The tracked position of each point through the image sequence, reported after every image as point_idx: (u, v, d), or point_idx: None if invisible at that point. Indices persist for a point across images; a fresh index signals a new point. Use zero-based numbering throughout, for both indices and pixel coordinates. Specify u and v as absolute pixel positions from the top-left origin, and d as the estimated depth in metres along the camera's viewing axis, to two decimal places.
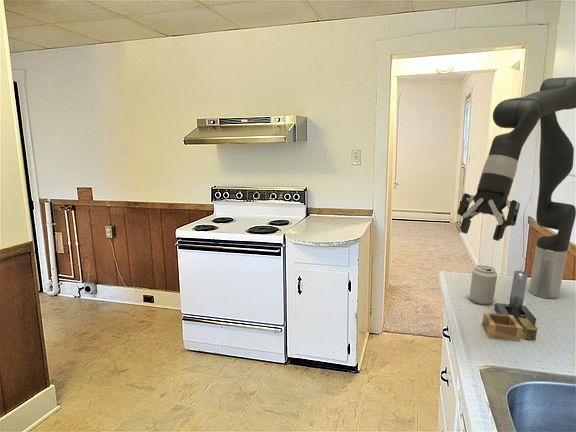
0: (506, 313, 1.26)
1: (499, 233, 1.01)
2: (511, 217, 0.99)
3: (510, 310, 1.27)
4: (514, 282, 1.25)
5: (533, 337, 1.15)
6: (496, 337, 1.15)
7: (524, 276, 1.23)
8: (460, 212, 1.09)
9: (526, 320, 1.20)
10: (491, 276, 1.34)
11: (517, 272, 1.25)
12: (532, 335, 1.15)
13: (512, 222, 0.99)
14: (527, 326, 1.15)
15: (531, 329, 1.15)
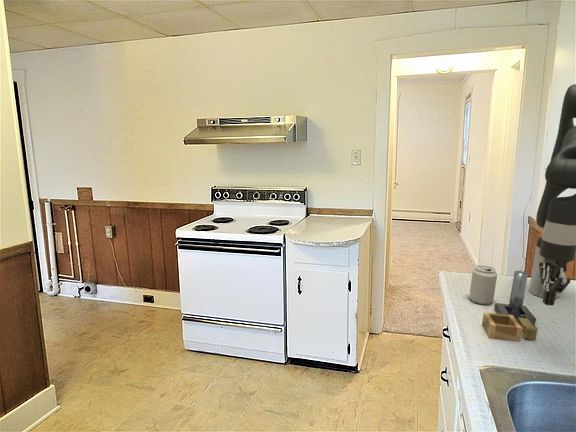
0: (506, 313, 1.26)
1: (547, 299, 1.04)
2: (552, 288, 1.01)
3: (510, 310, 1.27)
4: (514, 282, 1.25)
5: (533, 337, 1.15)
6: (496, 337, 1.15)
7: (524, 276, 1.23)
8: (542, 282, 1.07)
9: (526, 320, 1.20)
10: (491, 276, 1.34)
11: (517, 272, 1.25)
12: (532, 335, 1.15)
13: (554, 290, 1.02)
14: (527, 326, 1.15)
15: (531, 329, 1.15)
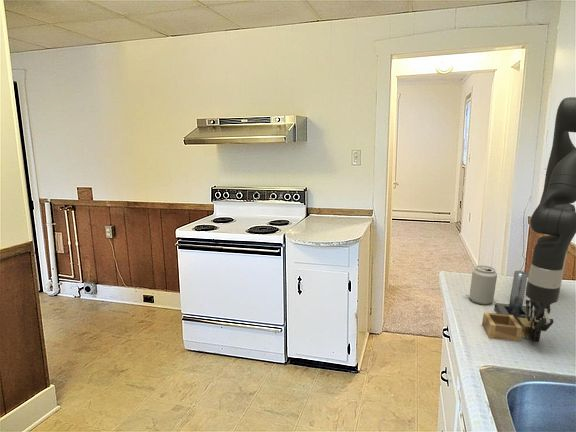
0: (506, 313, 1.26)
1: (533, 336, 1.12)
2: (537, 327, 1.09)
3: (510, 310, 1.27)
4: (514, 282, 1.25)
5: None
6: (496, 337, 1.15)
7: (524, 276, 1.23)
8: (528, 319, 1.14)
9: (526, 320, 1.20)
10: (491, 276, 1.34)
11: (517, 272, 1.25)
12: None
13: (539, 329, 1.09)
14: (527, 325, 1.15)
15: None
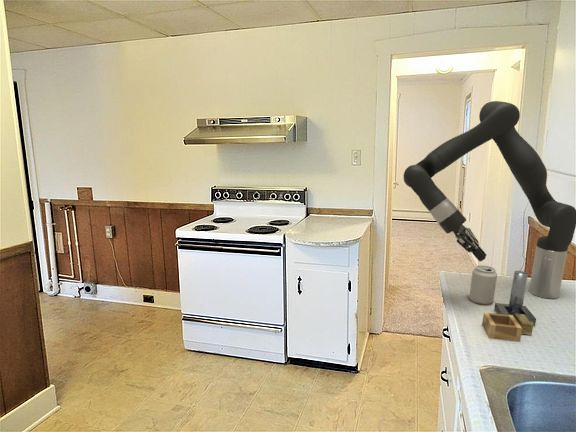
0: (506, 313, 1.26)
1: None
2: None
3: (510, 310, 1.27)
4: (514, 282, 1.25)
5: (529, 332, 1.18)
6: (496, 337, 1.15)
7: (524, 276, 1.23)
8: None
9: (523, 316, 1.22)
10: (491, 276, 1.34)
11: (517, 272, 1.25)
12: (528, 330, 1.18)
13: (469, 250, 1.27)
14: (524, 321, 1.18)
15: (527, 324, 1.17)
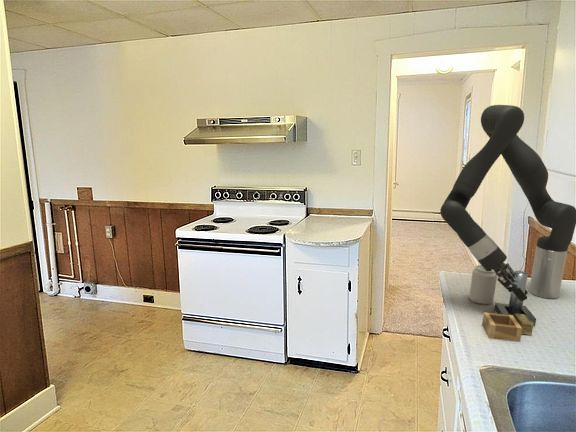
0: (506, 313, 1.26)
1: None
2: None
3: (510, 310, 1.27)
4: None
5: (529, 332, 1.18)
6: (496, 337, 1.15)
7: (524, 276, 1.23)
8: None
9: (523, 316, 1.22)
10: (491, 276, 1.34)
11: (517, 272, 1.25)
12: (528, 330, 1.18)
13: (511, 289, 1.23)
14: (524, 321, 1.18)
15: (527, 324, 1.17)
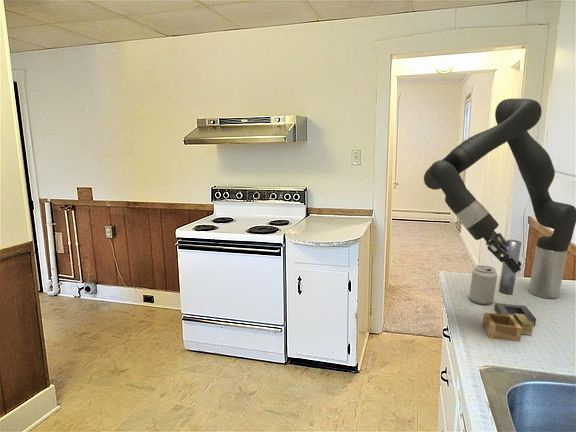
0: (506, 313, 1.26)
1: None
2: (498, 258, 1.11)
3: (501, 284, 1.15)
4: None
5: (529, 332, 1.18)
6: (496, 337, 1.15)
7: (517, 245, 1.11)
8: None
9: (523, 316, 1.22)
10: (491, 276, 1.34)
11: (510, 241, 1.13)
12: (528, 330, 1.18)
13: (502, 259, 1.10)
14: (524, 321, 1.18)
15: (527, 324, 1.17)
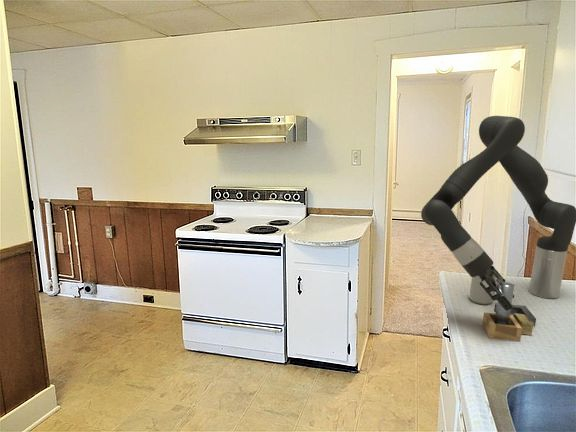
0: None
1: None
2: (490, 296, 1.12)
3: None
4: None
5: (529, 332, 1.18)
6: (496, 337, 1.15)
7: (510, 288, 1.14)
8: None
9: (523, 316, 1.22)
10: None
11: (503, 283, 1.16)
12: (528, 330, 1.18)
13: (494, 298, 1.11)
14: (524, 321, 1.18)
15: (527, 324, 1.17)
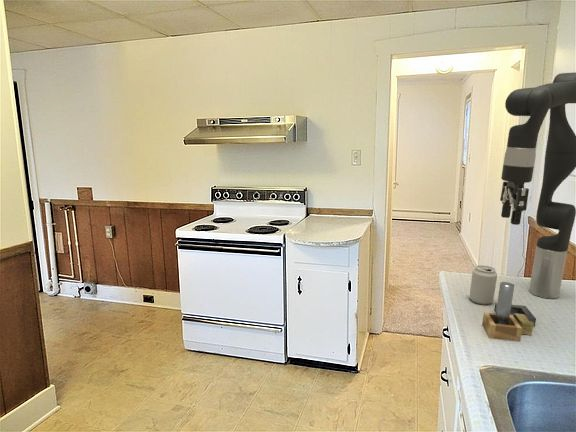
0: None
1: (514, 218, 1.12)
2: (517, 204, 1.09)
3: None
4: (500, 294, 1.16)
5: (529, 332, 1.18)
6: (496, 337, 1.15)
7: (510, 288, 1.14)
8: (501, 199, 1.22)
9: (523, 316, 1.22)
10: (491, 276, 1.34)
11: (503, 283, 1.16)
12: (528, 330, 1.18)
13: (519, 208, 1.09)
14: (524, 321, 1.18)
15: (527, 324, 1.17)
